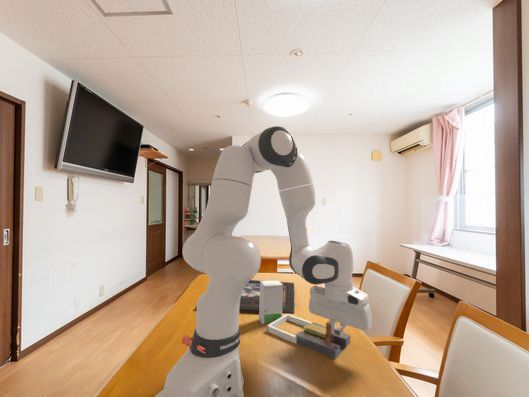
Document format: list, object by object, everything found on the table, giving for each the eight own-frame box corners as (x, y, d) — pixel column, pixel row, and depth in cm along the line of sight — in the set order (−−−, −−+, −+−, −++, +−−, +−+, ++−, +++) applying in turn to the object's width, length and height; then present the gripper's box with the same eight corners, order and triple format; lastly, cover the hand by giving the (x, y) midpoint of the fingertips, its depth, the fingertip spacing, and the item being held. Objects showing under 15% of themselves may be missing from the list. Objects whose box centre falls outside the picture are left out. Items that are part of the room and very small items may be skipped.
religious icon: (218, 282, 151) (218, 277, 151) (293, 286, 147) (294, 281, 147) (193, 311, 111) (193, 304, 111) (295, 318, 107) (296, 311, 107)
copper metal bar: (329, 348, 81) (329, 325, 81) (324, 346, 82) (324, 323, 82) (334, 342, 84) (335, 320, 85) (330, 341, 85) (330, 319, 86)
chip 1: (313, 342, 85) (313, 330, 85) (303, 338, 87) (303, 326, 87) (319, 337, 88) (319, 326, 88) (309, 333, 90) (309, 322, 90)
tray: (295, 346, 84) (296, 337, 84) (266, 333, 92) (266, 325, 92) (314, 331, 94) (315, 323, 94) (287, 321, 102) (287, 313, 102)
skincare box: (262, 326, 97) (263, 285, 98) (258, 318, 104) (259, 280, 104) (282, 324, 99) (283, 284, 100) (277, 316, 106) (278, 279, 106)
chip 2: (324, 346, 82) (324, 334, 82) (313, 342, 85) (313, 330, 85) (330, 341, 85) (330, 329, 85) (319, 337, 88) (319, 326, 88)
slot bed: (335, 362, 76) (335, 350, 76) (295, 345, 85) (295, 334, 85) (350, 345, 85) (350, 335, 85) (312, 331, 94) (313, 322, 94)
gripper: (305, 286, 86) (305, 327, 86) (367, 302, 73) (366, 350, 72) (314, 282, 91) (314, 321, 90) (374, 296, 78) (373, 341, 77)
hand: (338, 334), depth 81 cm, fingers closed
